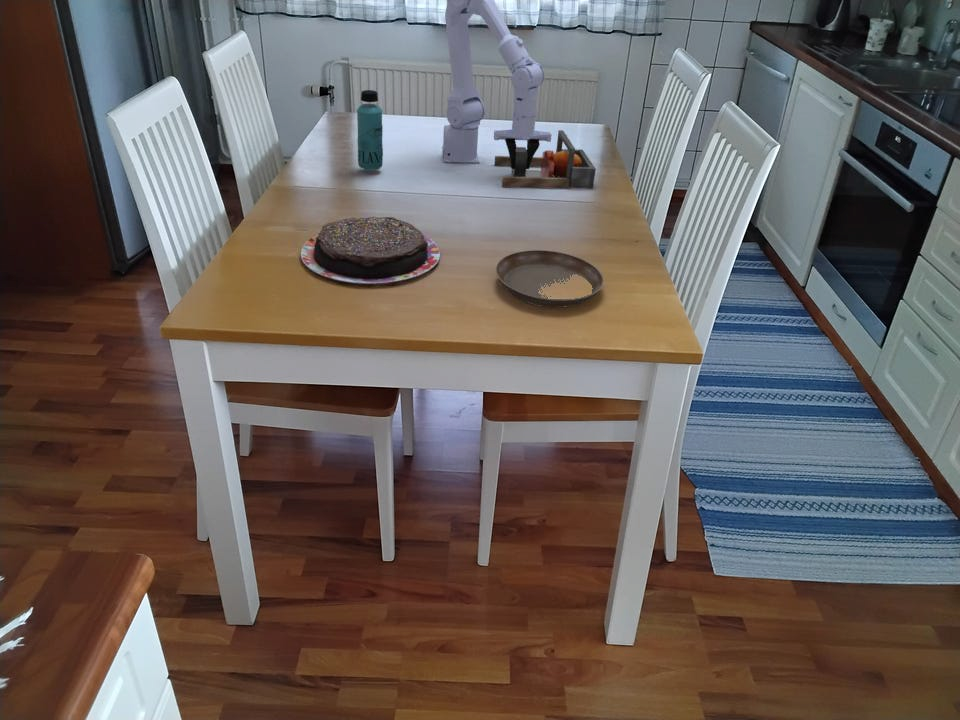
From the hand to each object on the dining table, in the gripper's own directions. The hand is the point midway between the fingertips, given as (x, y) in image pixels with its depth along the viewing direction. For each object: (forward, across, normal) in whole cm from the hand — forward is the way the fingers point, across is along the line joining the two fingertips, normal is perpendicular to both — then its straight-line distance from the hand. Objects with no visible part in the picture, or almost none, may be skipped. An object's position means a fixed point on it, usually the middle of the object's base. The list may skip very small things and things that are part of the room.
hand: (519, 167), depth 195 cm
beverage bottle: (+2, -38, +1) cm, 39 cm away
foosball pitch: (+2, +6, 0) cm, 7 cm away
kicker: (+2, +3, 0) cm, 4 cm away
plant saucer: (+3, -4, -62) cm, 62 cm away
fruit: (+2, +12, 0) cm, 12 cm away
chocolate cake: (+3, -38, -49) cm, 62 cm away
